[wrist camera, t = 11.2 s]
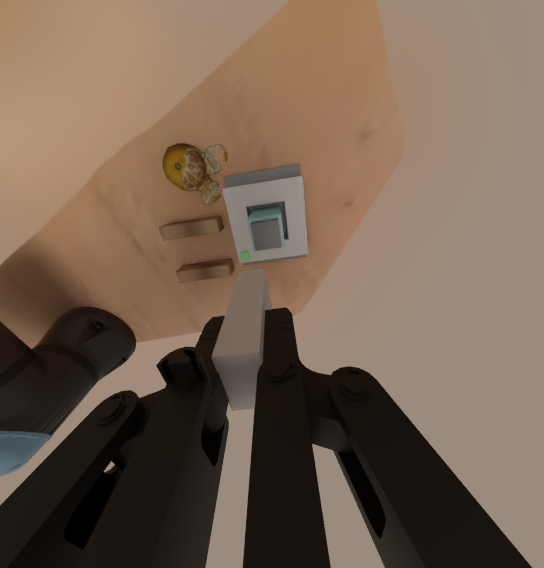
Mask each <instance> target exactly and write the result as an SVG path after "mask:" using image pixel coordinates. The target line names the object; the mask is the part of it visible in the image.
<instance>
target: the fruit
mask: <svg viewBox="0 0 544 568" xmlns="http://www.w3.org/2000/svg"><path fill="white" fill-rule="evenodd" d="M213 147H214V146H211V147H208V149H206V151H205V152H202V153H200V151H198V150H197V149H196V148H194V147H193V146H191V145H189V144H188V145H187V144H183V143H181V144H175V145H172V146H171V147H168V149H167V150H166V153H165V154H164V159H163V168H164V172H165V175H166V176H167V178H168V179H169V180H170V181H171V182H172V183H173V184H175V185H176V186H178V187H179V188H181V189H183V190H186V191H193V190H198V191H200V192H201V195H202V203H204V204H206V205H210V204H211V203H212V202H214V201H216V200H218V199H219V198H220V196H221V194H220V191H218V190H217V188H218V187H219V185H218V184H217V183H214V182H211V181H210V180H209V178H208V174H209V173H211V174H212V175H213V174H215V173H217V172H218V171H219V170H221V168H222V166H221V164H219V163H217V161H216V160H215V159H214V154H215V153H214V151H213ZM215 147H217V148H221V149H222V150H224V161H227V152H226V150H225V148H224V147H223V146H222V145H220V144H216V145H215ZM218 151H219V150H218ZM215 192H216V193H219V194H218V196H213V194H214V193H215Z"/></svg>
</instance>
